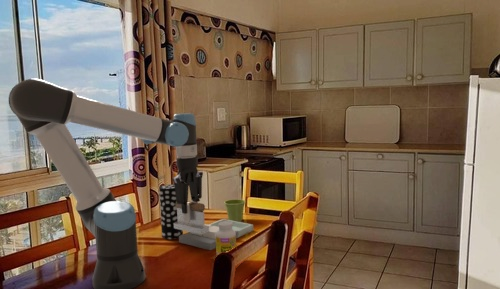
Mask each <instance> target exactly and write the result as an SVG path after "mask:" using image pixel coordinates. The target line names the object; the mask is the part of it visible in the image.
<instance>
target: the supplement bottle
mask: <svg viewBox="0 0 500 289" xmlns="http://www.w3.org/2000/svg"><path fill="white" fill-rule="evenodd" d="M218 227H219V230H218V231H217V232H216V248H215V250H216V251H215V253H216V255H218V254H219V253H221V252H226V251H229V250H231V249H232V248H234V247H236V248H237V238H236V232H235V231H234V230H233V229H232V227H233V224H232V222H230V221H223V222H220V223H219V224H218Z"/></svg>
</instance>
